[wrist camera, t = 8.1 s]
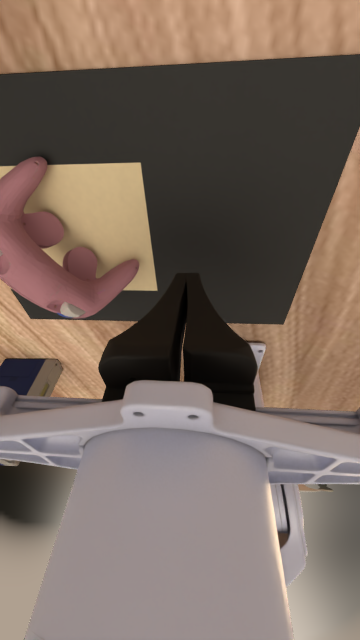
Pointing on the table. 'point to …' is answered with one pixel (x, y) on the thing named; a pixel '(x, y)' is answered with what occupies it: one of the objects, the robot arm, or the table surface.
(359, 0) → the table surface
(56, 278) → the pink curved piece
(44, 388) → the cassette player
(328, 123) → the desk mat
